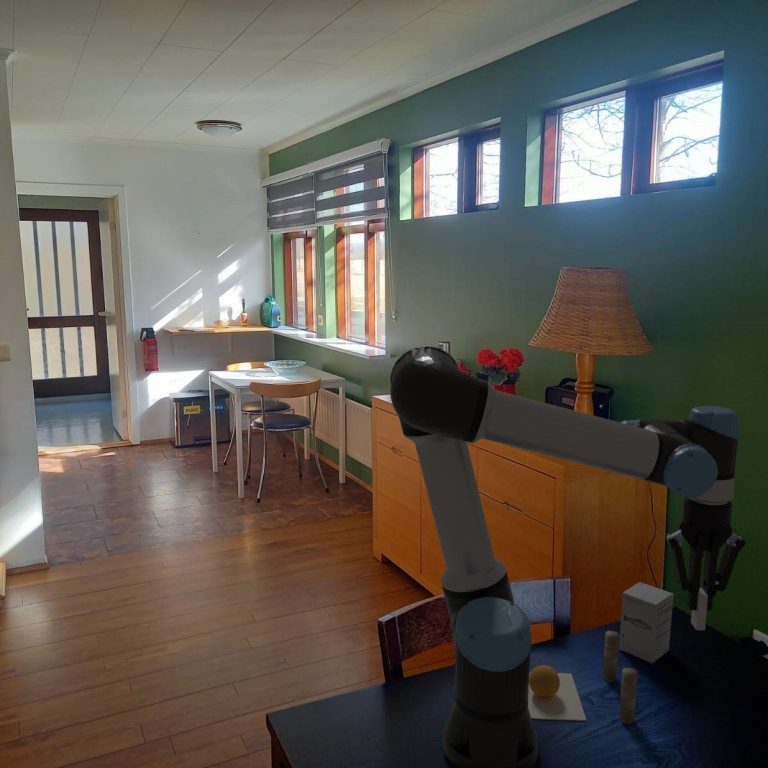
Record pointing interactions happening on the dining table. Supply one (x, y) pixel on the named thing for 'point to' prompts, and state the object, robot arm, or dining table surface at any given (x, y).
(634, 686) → the right post
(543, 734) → the dining table surface
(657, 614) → the supplement box
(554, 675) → the ball
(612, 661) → the left post
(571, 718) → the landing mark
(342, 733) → the dining table surface
